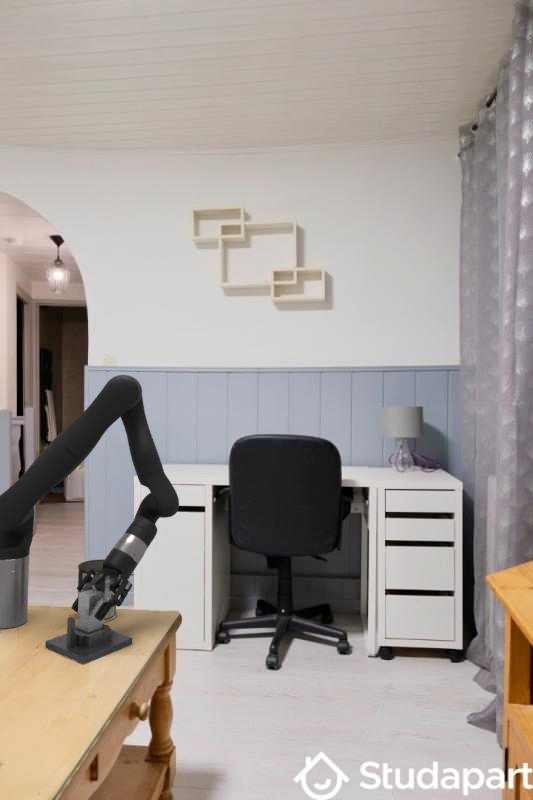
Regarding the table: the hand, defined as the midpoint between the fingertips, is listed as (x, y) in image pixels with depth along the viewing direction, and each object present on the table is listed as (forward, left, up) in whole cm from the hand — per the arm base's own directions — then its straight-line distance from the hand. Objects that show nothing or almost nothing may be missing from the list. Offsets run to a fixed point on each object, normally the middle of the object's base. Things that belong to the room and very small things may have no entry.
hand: (85, 614), depth 134 cm
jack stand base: (0, +1, -8) cm, 8 cm away
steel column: (0, +1, -6) cm, 6 cm away
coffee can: (-14, +14, -8) cm, 22 cm away
